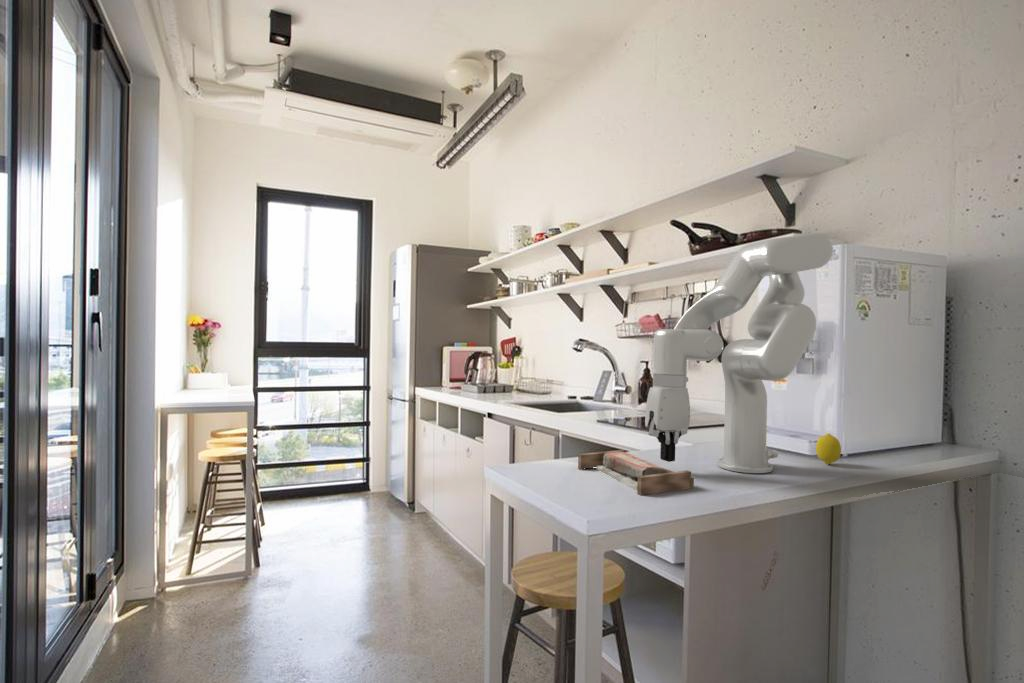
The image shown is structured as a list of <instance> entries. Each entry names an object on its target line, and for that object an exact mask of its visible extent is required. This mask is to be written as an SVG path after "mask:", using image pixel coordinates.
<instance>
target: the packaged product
mask: <svg viewBox="0 0 1024 683" xmlns="http://www.w3.org/2000/svg"><path fill="white" fill-rule="evenodd" d="M603 458H604V460H603V465H602V466H600V465H597V468H596V471H597V470H599V471H601V472H603V473H605V474H607V475H609V476H611V477H612V478H614V479H616V480H617V481H616V480H615V481H616V482H618V481H619V482H618V483H620V482H621V483H620V484H622V483H623V484H622V485H624V484H625V485H624V486H626V485H627V487H628V486H629V487H628V488H630V487H631V489H632V488H633V489H632V490H635V491H637V482H638V476H645V475H653V474H662V473H666V470H665V469H666V468H664V467H661V466H658V465H657V464H653V463H652V462H650V461H647V460H645V459H642V458H640V457H638V456H636V455H633V454H630V453H628V452H626V453H625V452H612V453H606V454H604V457H603ZM663 468H664V469H663ZM599 471H598V472H599ZM601 472H600V473H601ZM603 473H602V474H603ZM605 474H604V475H605ZM607 475H606V476H607ZM609 476H608V477H609ZM611 477H610V478H611ZM612 478H611V479H612ZM614 479H613V480H614Z"/></svg>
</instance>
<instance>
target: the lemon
mask: <svg viewBox="0 0 1024 683" xmlns="http://www.w3.org/2000/svg"><path fill="white" fill-rule="evenodd" d="M815 451H816V452H815V453H816V456H817V457H818V458H819V459H820V461H822V462H824V464H826V465H827V464H830V465H832V463H835V462H837V461H838V460H839V459H840V457H841V454H842V447H841V443H840V441H839V439H838V438H836V437H835V436H833V435H831V433H826V434H824V435H822V436H820V437H819V438H818V439H817V441H816V444H815Z"/></svg>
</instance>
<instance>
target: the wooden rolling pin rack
mask: <svg viewBox="0 0 1024 683" xmlns="http://www.w3.org/2000/svg"><path fill="white" fill-rule="evenodd" d="M612 452H625V453H627V450H625V449H620V450H619V449H618V450H617V449H616V450H608V451H598V452H589V453H588V452H587V453H578V459H577V461H578V462H577V469H578V468H579V469H578V470H580V469H584V468H593V467H597V465H600V466H602V465H603V460H604V458H603V457H604V454H606V453H612ZM662 468H663V469H665V470H666V473H662V474H653V475H645V476H638V482H637V490H636V491H637V495H640V496H647V495H654V494H660V493H667V492H675V491H683V490H688V489H694V488H695V478H694V477H692V471H691V470H687V469H686V470H681V471H680V470H679V471H673V470H670V469H667V468H664V467H662ZM593 469H594V468H593ZM584 470H585V469H584ZM646 494H647V495H646Z"/></svg>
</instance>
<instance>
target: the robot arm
mask: <svg viewBox="0 0 1024 683" xmlns="http://www.w3.org/2000/svg"><path fill="white" fill-rule="evenodd" d="M833 246H834V245H833V244H832V241H831V240H830V238H829V237H828V236H826V235H824V234H822V233H820V232H810V233H804V234H799V235H793V236H792V235H791V236H785V237H777V238H776V237H775V238H769V239H765V240H761V241H757V242H752V243H748V244H745V245H743V246H741V247H740V248H739V249H738V251H737V252H736V253H735V255H734V256H733V258H732V259H731V261H730V262H729V264H728V265H727V267H726V268H725V269H724V271H723V272H722V273H721V274H722V275H721V276H720V277H719V278H718V280H717V282H716V283H715V285H714V286H713V287H712V289H711V290H710V291H708V292H707V293H706V294H704V295H703V296H702V297H701V298H699V300H698V301H696V302H695V303H694V304H693V305H692V306H691V307H690V308H688V309H687V310H686V311H685V312H684V313H683V315H682V316H681V317H680V318H679V320H678V321H677V323H676V325H675V326H674V328H673V329H672V328H664V329H663V328H662V329H657V330H656V331H655V332H654V333H653V334H654V335H653V355H652V356H653V358H652V359H653V362H652V364H653V366H652V367H653V368H652V370H653V371H652V386H651V387H649V389H648V393H647V398H646V406H645V414H644V415H645V416H644V419H645V420H644V426H645V428H646V429H648V435H649V436H651V437H655V438H656V439H657V441H658V443H660V455H659V456H660V457H659V458H660V460H662V461H665V462H668V463H670V462H671V463H672V462H675V461H676V445H677V444H678V443H679V439H680V438H681V436H684V435H686V434H688V429H689V427H690V424H691V405H690V404H691V402H690V397H689V396H690V395H689V390H688V388H687V383H688V382H689V377H688V376H687V374H688V373H687V372H688V371H687V370H688V369H687V368H688V365H687V364H688V361H694V362H695V361H696V362H697V361H698V362H708V361H713V360H716V359H717V358H718V357H720V355H721V368H722V373H723V378H724V379H723V380H724V425H723V426H724V427H723V428H724V430H723V431H724V435H723V436H724V437H723V438H724V439H723V457H720V458H717V461H716V464H717V465H716V466H718V467H719V468H722V469H724V470H727V471H732V472H738V473H744V474H768V473H771V472H772V471H773V470H774V466H773V464H772V463H770V462H769V460H770V459H776V458H778V457H779V452H778V451H777V450H775V449H771V450H769V449H767V432H768V430H767V427H768V426H767V422H768V421H767V420H768V419H767V418H768V394H767V390H766V386H765V384H764V382H763V381H770V382H775V381H776V382H777V381H782V380H784V379H786V378H787V377H788V376H789V375H790V374H791V373H792V372H793V371H794V369H795V368H796V366H797V365H798V363H799V361H800V360H801V358H802V357H803V355H804V353H805V351H806V349H807V347H808V346H809V345H810V343H811V341H812V339H813V337H814V335H815V332H816V329H817V320H816V318H817V317H816V315H815V312H814V311H813V310H812V308H811V307H809V306H808V305H807V304H804V303H802V302H803V301H804V298H805V288H804V284H803V283H802V281H801V280H802V279H801V277H800V275H799V272H803V271H808V270H815V269H819V268H822V267H824V266H826V265H827V264H828V263H829V262H830V260H831V258H832V256H833V253H834V247H833ZM765 277H768V278H769V285H768V288H767V290H766V292H765V294H764V295H763V297H762V299H761V301H760V302H759V303H758V305H757V307H756V308H755V310H754V312H753V313H752V314H751V317H750V319H749V321H748V322H747V332H748V334H749V336H750V337H751V338H749V339H748V338H746V339H743V338H742V339H737V340H733V341H731V342H730V343H728V344H727V345H726V346H725V347H724V341H723V338H722V337H721V335H720V334H719V333H717V332H716V331H714V330H712V329H709V328H710V327H711V326H712V325H714V324H715V323H717V322H719V321H721V320H722V319H724V318H728V317H729V316H732V315H734V314H736V313H738V312H739V311H741V310H742V309H743V308H745V307H746V306H747V304H748V302H749V300H750V299H751V298H752V296H753V294H754V293H755V291H756V290H757V288H758V287H759V286H760V283H761V282H762V281H763V279H764V278H765Z"/></svg>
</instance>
